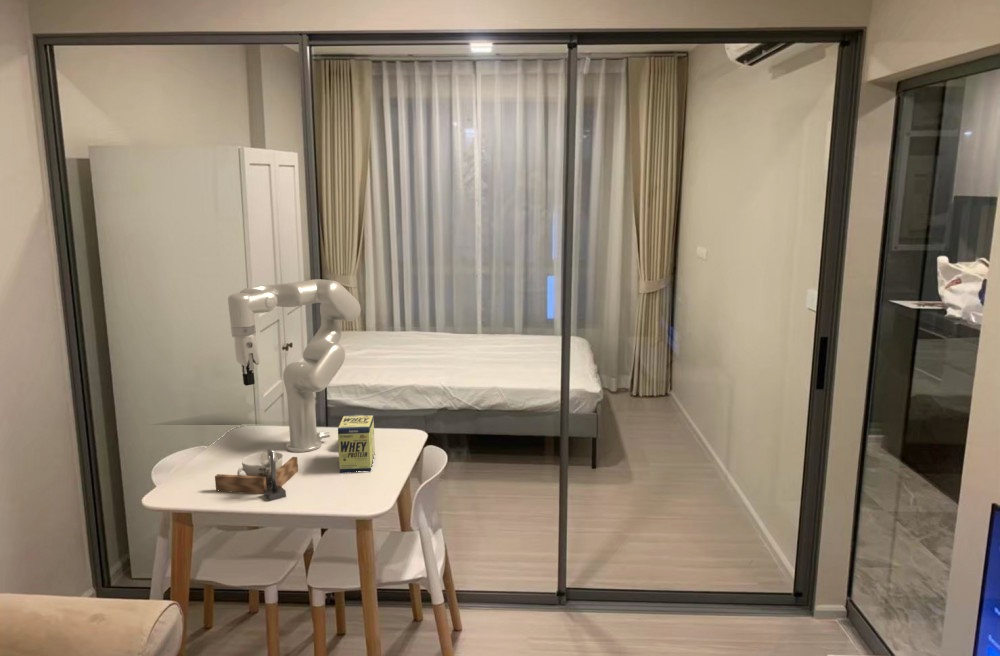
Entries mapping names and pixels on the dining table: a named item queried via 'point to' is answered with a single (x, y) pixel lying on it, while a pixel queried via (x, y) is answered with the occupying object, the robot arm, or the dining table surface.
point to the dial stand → (272, 476)
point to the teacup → (258, 466)
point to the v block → (255, 479)
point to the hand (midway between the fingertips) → (249, 384)
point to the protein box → (356, 443)
